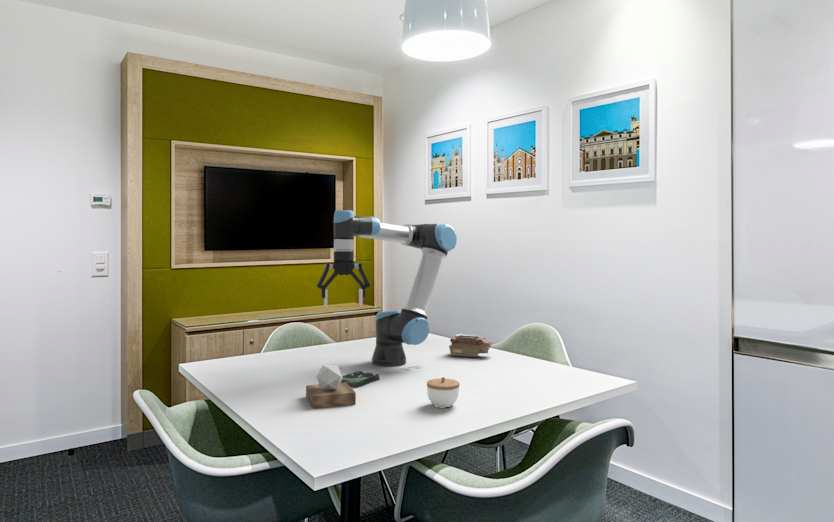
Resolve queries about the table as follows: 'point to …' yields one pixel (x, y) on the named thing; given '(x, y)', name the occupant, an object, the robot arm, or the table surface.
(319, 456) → the table surface
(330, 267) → the robot arm
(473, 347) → the decorative box
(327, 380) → the die
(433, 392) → the lidded jar
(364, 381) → the disk drive
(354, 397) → the walnut base
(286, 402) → the table surface
